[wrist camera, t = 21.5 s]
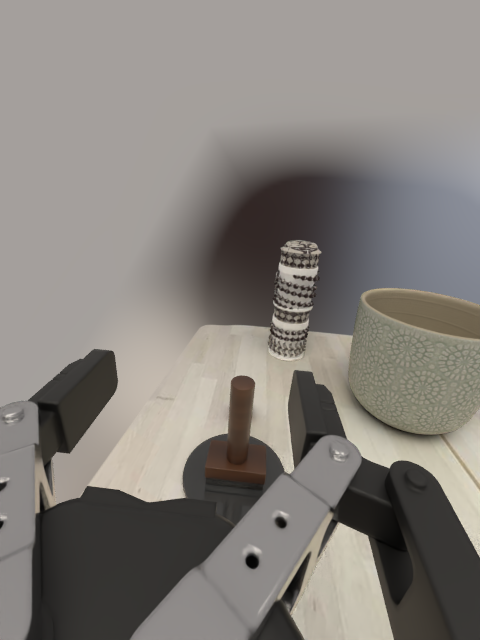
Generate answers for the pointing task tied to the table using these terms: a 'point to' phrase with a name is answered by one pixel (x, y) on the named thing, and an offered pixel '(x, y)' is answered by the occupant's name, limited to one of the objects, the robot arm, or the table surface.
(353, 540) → the table surface
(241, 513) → the plate
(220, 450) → the wooden peg
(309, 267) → the white patterned cylinder
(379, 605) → the table surface
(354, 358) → the planter
